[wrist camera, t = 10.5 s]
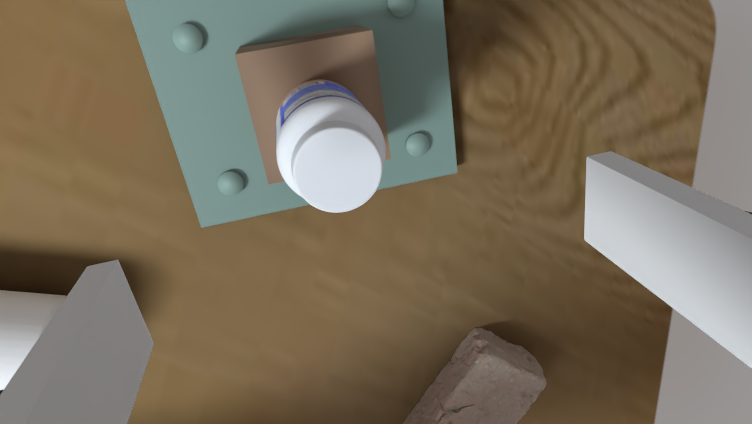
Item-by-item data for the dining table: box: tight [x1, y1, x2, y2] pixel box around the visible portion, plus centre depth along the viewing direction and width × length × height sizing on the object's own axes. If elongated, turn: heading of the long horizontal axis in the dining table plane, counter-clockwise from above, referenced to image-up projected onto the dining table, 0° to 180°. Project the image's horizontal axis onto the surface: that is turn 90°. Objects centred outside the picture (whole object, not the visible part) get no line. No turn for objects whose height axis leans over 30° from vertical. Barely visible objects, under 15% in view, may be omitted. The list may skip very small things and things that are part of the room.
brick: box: [402, 328, 547, 424], centre depth 49 cm, size 17×8×5 cm, turn 149°
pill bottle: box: [276, 80, 386, 213], centre depth 26 cm, size 5×5×10 cm
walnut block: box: [235, 25, 391, 184], centre depth 32 cm, size 8×8×5 cm
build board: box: [125, 0, 458, 228], centre depth 35 cm, size 20×16×2 cm
